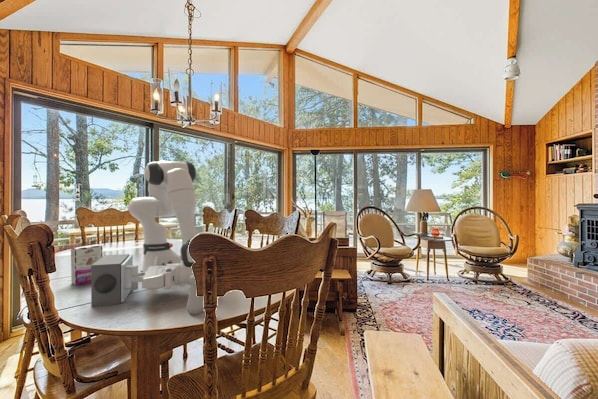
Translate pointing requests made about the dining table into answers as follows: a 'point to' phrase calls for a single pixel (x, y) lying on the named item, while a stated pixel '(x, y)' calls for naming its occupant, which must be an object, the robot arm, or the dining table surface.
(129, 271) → the door
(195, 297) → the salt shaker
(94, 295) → the housing
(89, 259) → the candy bar box
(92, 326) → the dining table surface
